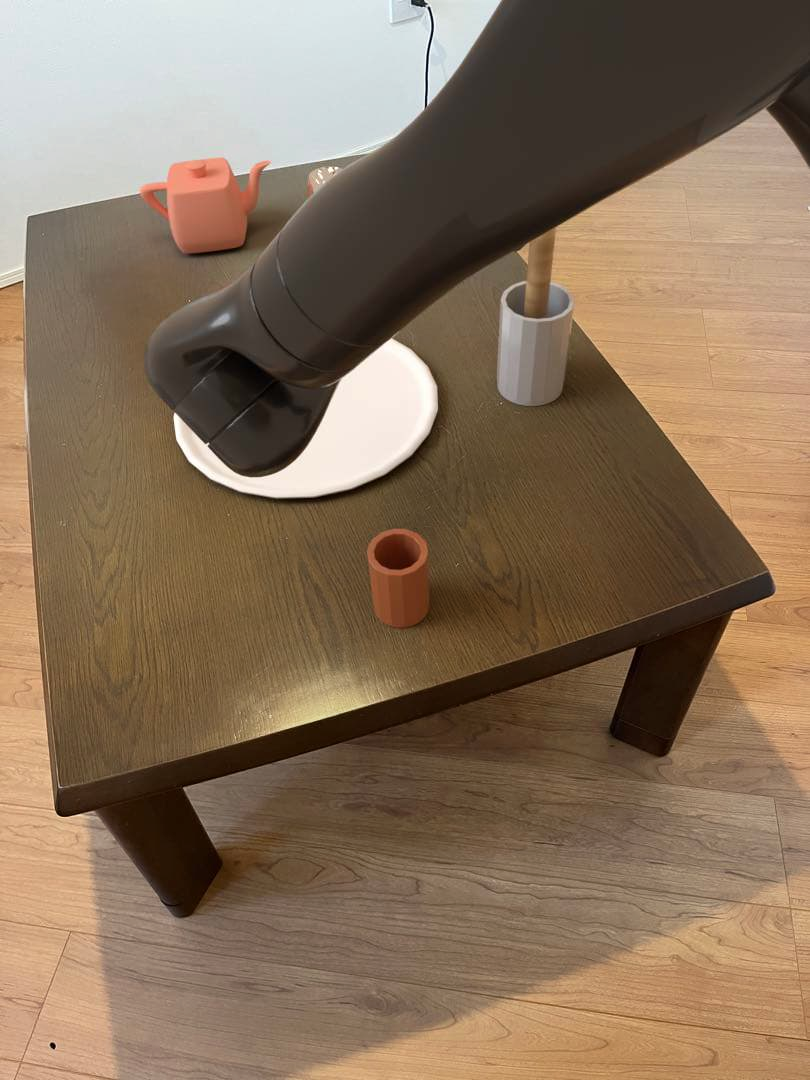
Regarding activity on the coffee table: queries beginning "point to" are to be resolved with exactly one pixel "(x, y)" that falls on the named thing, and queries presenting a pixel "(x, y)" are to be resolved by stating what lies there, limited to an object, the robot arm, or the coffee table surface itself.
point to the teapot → (205, 204)
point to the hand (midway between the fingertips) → (500, 154)
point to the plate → (345, 431)
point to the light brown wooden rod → (539, 275)
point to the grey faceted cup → (533, 347)
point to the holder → (399, 577)
